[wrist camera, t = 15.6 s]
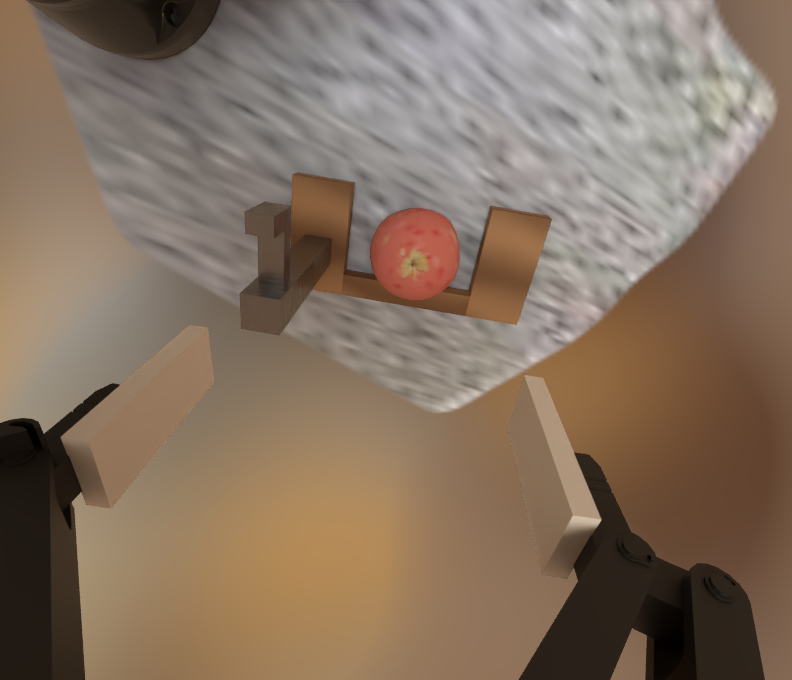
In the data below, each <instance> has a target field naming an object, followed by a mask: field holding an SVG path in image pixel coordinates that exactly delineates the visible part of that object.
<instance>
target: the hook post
mask: <svg viewBox="0 0 792 680" xmlns="http://www.w3.org/2000/svg"><path fill="white" fill-rule="evenodd" d="M245 234H250V235H256V236H258V274H259V276H258V277H257V278H256V279H255V280H254V281H253V282H252V283H251V284H249V285H248V286H247V287H246V288H245V289H244V290H243V291H242V292H241V293H240V310H241V328H242V329H247V330H252V331H258V332H264V333H269V334H275V335H280V334H281V332H282V331H283V330H284V328H285V327H286V325H287V324H288V323H289V321H290V320H291V318H292V317H293V316H294V314H295V313H296V311H297V310H298V309H299V307H300V306H301V304H302V303H303V302H304V300H305V299H306V297H307V296H308V295H309V293H310V292H311V290H312V289H313V288H314V286H315V285H316V283H317V282H318V281H319V279H320V278H321V276H322V275H323V274H324V272H325V271H326V269H327V268H328V267H329V265H330V260H331V246H332V239H331V238H325V237H319V236H314V235H308V234H305V235H304V236H303V237H302V238H301V239H300V240H298V241H297V242H296V243H295V244H294V245H293V246H292V247H291V248H290V237H291V206H288V205H282V204H276V203H270V202H263V203H261V204H259V205H257V206H255V207H253V208H251V209H249V210H247V211H245Z"/></svg>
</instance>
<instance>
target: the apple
mask: <svg viewBox="0 0 792 680" xmlns="http://www.w3.org/2000/svg"><path fill="white" fill-rule="evenodd" d="M459 257H460V255H459V243H458V239H457V234H456V231H455V229H454V228H453V226H452V224H451V222H450V221H449V220H448V219H447V218H445V217H444V216H443V215H441V214H439V213H437V212H434V211H432V210H428V209H422V208H412V209H406V210H402V211H398V212H396V213H394V214H392V215H390V216H388V217H387V218H386V219H385V220H384V221H383V222H382V223H381V224H380V225H379V226H378V228H377V230H376V232H375V234H374V236H373V239H372V242H371V246H370V258H371V264H372V269H373V271H374V274H375V276H376V278H377V280H378V281H379V282H380V284H381V285H382V286H383V288H385V289H386V290H388V291H389V292H390V293H392V294H393V295H396V296H398V297H401V298H404V299H409V300H424V299H428V298H431V297H434V296H435V295H437V294H439V293H441V292H442V291H443V290H444V289H446V288H447V287H448V286H449V285H450V283H451V282H452V280H453V279H454V277H455V276H456V273H457V270H458V267H459Z"/></svg>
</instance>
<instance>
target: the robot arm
mask: <svg viewBox="0 0 792 680" xmlns="http://www.w3.org/2000/svg"><path fill="white" fill-rule="evenodd" d="M27 1H28V2H29V3H31V4H32V5H34V6H35V7H36V8H38V9H39V10H41V11H42V12H43V13H45V14H46V15H48V16H49V17H50V18H52V19H53V20H55V21H56V22H57V23H59V24H60V25H62V26H63V27H64V28H66V29H67V30H69V31H70V32H71V33H73V34H74V35H76V36H77V37H79V38H81V39H82V40H84V41H86V42H88V43H90V44H92V45H94V46H96V47H99V48H101V49H104V50H106V51H109V52H113V53H117V54H121V55H126V56H131V57H136V58H142V59H158V58H164V57H168V56H171V55H174V54H177V53H179V52H181V51H183V50H184V49H186V48H187V47H189V46H190V45H191V44H193V43H194V42H195V41H196V40H197V39H198V38H199V37H200V36H201V35H202V33H203V32H204V31H205V30H206V28H207V27H208V25H209V23H210V22H211V20H212V18H213V16H214V14H215V12H216V9H217V7H218V4H219V1H220V0H27ZM213 383H214V376H213V367H212V359H211V351H210V342H209V333H208V328H207V327H200V326H193V325H189V326H188V327H186V328H185V329H184V330H183V331H182V332H181V333H180V334H178V335H177V336H176V337H175V338H174V339H173V340H172V341H170V342H169V343H168V344H167V345H166V346H165V347H164V348H162V349H161V350H160V351H159V352H158V353H157V354H155V356H153V357H152V358H151V359H150V360H149V361H147V362H146V363H145V364H144V365H143V366H142V367H140V368H139V369H138V370H137V371H136V372H135V373H134V374H132V375H131V376H130V377H129V378H128V379H127V380H126V381H125V382H123V383H122V384H121V385H118V384H113V383H112V384H110V385H108V386H106V387H104V388H102V389H99V390H97V391H95V392H94V393H93V394H92V395H91V396H89V397H88V398H87V399H86V400H84V402H83V404H80V405H78V406H77V407H76V408H75V409H74V410H73V412H70V413H69V414H68V415H66V416H65V417H64V418H63V419H61V420H60V421H59V422H58V423H57V424H55V425H54V426H53V427H52V428H51V429H49V430H48V431H47V432H46V433H44V434H43V431H42V429H41V426H40V424H39V422H38V421H35V420H33V419H27V418H20V419H13V420H8V421H5V422H2V423H0V680H85V669H84V654H83V639H82V622H81V609H80V608H81V607H80V592H79V576H78V561H77V544H76V529H75V514H74V507H73V505H72V501H73V500H74V499H75V498H76V497H77V496H78V495H79V494H80V492H82V495H83V497H84V500H85V503H86V505H92V506H98V507H104V508H112V507H113V506H114V505H115V503H116V502H117V501H118V500H119V498H120V497H121V496H122V495H123V493H124V492H125V491H126V490H127V489H128V487H129V486H130V485H131V484H132V482H133V481H134V479H136V478H137V476H138V475H139V473H141V471H142V470H143V469H144V468H145V466H146V465H147V464H148V463H149V462H150V460H151V459H152V457H154V455H155V454H156V453H157V451H158V450H159V449H160V448H161V447H162V446H163V444H164V443H165V442H166V441H167V439H168V438H169V437H170V435H171V434H172V433H173V432H174V431H175V430H176V428H177V427H178V426H179V425H180V423H181V422H182V421H183V420H184V418H185V417H186V416H187V415H188V413H189V412H190V411H191V410H192V409H193V407H194V406H195V405H196V404H197V403H198V401H199V400H200V399H201V398H202V396H203V395H204V394H205V393H206V391H207V390H208V389H209V388H210V387H211V385H212V384H213ZM507 429H508V433H509V438H510V442H511V446H512V450H513V454H514V459H515V463H516V467H517V471H518V476H519V480H520V485H521V488H522V493H523V497H524V502H525V506H526V510H527V514H528V518H529V522H530V527H531V531H532V536H533V540H534V544H535V549H536V553H537V557H538V561H539V565H540V570H541V574H542V575H546V576H552V577H559V578H565V579H567V578H568V576H569V574H570V573H571V571H572V569H573V568H574V569H575V572H576V575H577V579H578V582H577V584H576V586H575V587H574V589H573V591H572V592H571V594H570V596H569V597H568V599H567V600H566V602H565V604H564V605H563V607H562V609H561V610H560V612H559V614H558V615H557V617H556V619H555V620H554V622H553V624H552V625H551V627H550V629H549V630H548V632H547V634H546V635H545V637H544V639H543V640H542V642H541V643H540V645H539V647H538V648H537V650H536V652H535V653H534V655H533V657H532V658H531V660H530V662H529V663H528V665H527V667H526V668H525V670H524V672H523V673H522V675H521V676H520V678H519V680H610V679H611V676H612V674H613V672H614V669H615V667H616V665H617V662H618V660H619V657H620V655H621V653H622V651H623V648H624V646H625V643H626V641H627V639H628V636H629V634H630V632H631V629H632V628H633V629H635V630H637V631H639V632H641V633H643V634H645V635H647V649H646V651H647V652H646V676H645V677H646V678H645V680H765V678H764V673H763V667H762V662H761V657H760V651H759V646H758V641H757V636H756V631H755V625H754V619H753V614H752V609H751V604H750V601H749V599H748V596H747V594H746V593H745V591H744V590H743V589H742V587H741V586H740V585H739V584H738V583H737V582H736V581H735V580H734V579H733V578H732V577H731V576H730V575H729V574H727V573H725V572H724V571H722V570H720V569H719V568H717V567H715V566H712V565H709V564H702V563H700V564H699V563H698V564H696V565H695V566H693V567H692V568H691V569H690V570H689V571H687V570H685V569H682V568H680V567H678V566H675V565H673V564H671V563H668V562H666V561H664V560H662V559H660V558H658V557H656V555H655V552H654V551H653V550H652V549H651V547H650V546H649V545H648V543H646V542H645V541H644V540H643V539H642V538H640V537H639V536H637V535H636V534H634V533H632V532H631V531H630V529H629V526H628V524H627V522H626V520H625V518H624V516H623V514H622V512H621V509H620V507H619V505H618V503H617V501H616V499H615V497H614V495H613V493H611V488H610V486H609V484H608V483H607V482H606V478H605V476H604V474H603V471H602V469H601V467H600V466H599V465H598V464H597V463H596V462H595V461H594V459H593V458H592V457H591V456H590V455H587V454H581V453H574V452H573V450H572V447H571V445H570V442H569V440H568V437H567V435H566V433H565V430H564V428H563V425H562V423H561V421H560V418H559V416H558V413H557V411H556V408H555V406H554V404H553V401H552V399H551V396H550V394H549V392H548V389H547V387H546V384H545V382H544V380H543V378H540V377H533V376H527V375H524V378H523V381H522V383H521V386H520V389H519V392H518V395H517V398H516V401H515V404H514V407H513V410H512V412H511V415H510V418H509V421H508V424H507Z"/></svg>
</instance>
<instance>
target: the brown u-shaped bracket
mask: <svg viewBox="0 0 792 680" xmlns="http://www.w3.org/2000/svg"><path fill="white" fill-rule="evenodd" d="M354 183H355V182H349V181H343V180H338V179H332V178H326V177H320V176H315V175H309V174H303V173H296V174H293V178H292V220H291V247H292V246H293V245H294V244H295V243H296V242H297V241H298V240H300V239H301V238H302V237H303V236H304V235H305V234H308V235H314V236H319V237H325V238H331V239H332V246H331V260H330V265H329V267H328V268H327V269H326V271H325V272H324V274H323V275H322V276H321V278H320V279H319V281H318V282H317V283H316V285H315V286H314V288H313V290H318V291H324V292H330V293H336V294H342V295H347V296H353V297H359V298H365V299H371V300H376V301H382V302H388V303H394V304H399V305H405V306H411V307H417V308H423V309H428V310H434V311H440V312H446V313H452V314H457V315H463V316H469V317H475V318H480V319H486V320H492V321H498V322H504V323H509V324H515V325H517V323H518V320H519V317H520V314H521V311H522V308H523V305H524V302H525V299H526V296H527V293H528V290H529V287H530V284H531V281H532V278H533V275H534V272H535V269H536V266H537V263H538V260H539V257H540V254H541V251H542V248H543V245H544V242H545V239H546V236H547V233H548V230H549V227H550V224H551V221H552V219H551V218H550V217H548V216H546V215H540V214H535V213H529V212H523V211H517V210H511V209H506V208H500V207H494V206H491V207H490V211H489V215H488V219H487V223H486V227H485V230H484V234H483V238H482V242H481V246H480V250H479V254H478V258H477V262H476V266H475V269H474V273H473V277H472V281H471V285H470V289H469V291H468V290H462V289H456V288H450V287H447V288H446V289H444V290H443V291H442V292H441V293H439V294H437V295H435V296H434V297H431V298H428V299H424V300H409V299H404V298H401V297H398V296H396V295H393V294H392V293H390V292H389V291H388V290H386V289H385V288H383V286H382V285H381V284H380V282H379V281H378V280H377V278H376V276H375V274H369V273H363V272H358V271H352V270H346V268H347V258H348V247H349V236H350V226H351V215H352V205H353V194H354Z"/></svg>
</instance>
